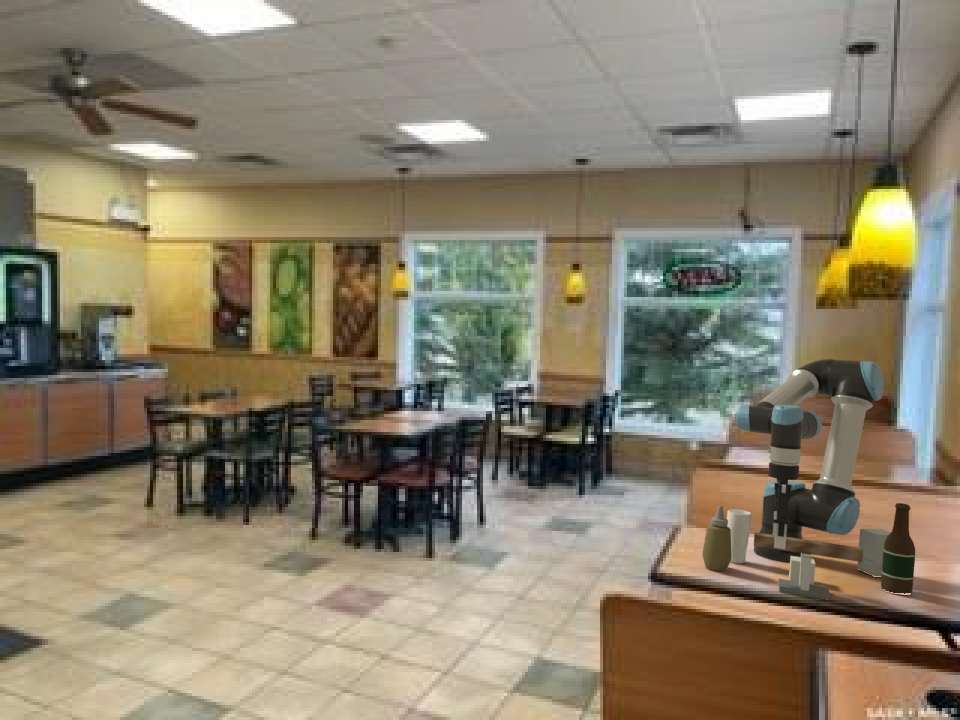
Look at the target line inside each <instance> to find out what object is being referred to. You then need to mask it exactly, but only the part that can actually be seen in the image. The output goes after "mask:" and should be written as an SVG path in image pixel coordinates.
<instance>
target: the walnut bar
mask: <svg viewBox="0 0 960 720" xmlns="http://www.w3.org/2000/svg"><path fill="white" fill-rule="evenodd" d="M753 535H754V537H753V547H754V546H758V547H765V548H771V549H778V550H785V551H791V552H798V553H805V554H811V556H819V557H826V558H830V559H831V558H833V559H838V560H845V561H851V562H857V563H858V562H862V557H863V550H862V548H860V547H859V546H852V545H846V544H839V543H832V542H825V541H818V540H811V539H798V538H791V537H786V547H785V549H780V548H774V540H775V535H770V534H763V533H759V532H754V534H753Z"/></svg>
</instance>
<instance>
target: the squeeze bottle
mask: <svg viewBox="0 0 960 720" xmlns="http://www.w3.org/2000/svg"><path fill="white" fill-rule="evenodd" d="M706 526H707V527H706V530H705V537H704V542H703V546H702V547H703V548H702V558H703V563H704V567H705V568H707V569H709V570H711V571H714V572H725V571H727V570H728V567H729V565H730V563H731V562H730V561H731V559H732V558H731V529H730V528H729V527H727V526H728V520H727V518H725V514H724V507H723V506H722V505H718V506H717V509H716V513H715V516H713V517H711V518H710V524H708V525H706Z"/></svg>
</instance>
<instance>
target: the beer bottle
mask: <svg viewBox="0 0 960 720" xmlns="http://www.w3.org/2000/svg"><path fill="white" fill-rule="evenodd" d="M894 507H895V514H894V520H893V526H892V529H891V531H890V532H891V533H890V534H889V535H888V536H887V538H886V540H885V542H884V548H883V561H882V574H881V578H880V587H881V589H885V590H886V591H889V592H893V593H904V594H905V593H912V594H913V590H914V589H913V588H914V576H915V565H916V564H915V563H916V547H915V543H914V541H913V539H912V537H911V536H910V510H911V506H910V505H909V504H908V503H904V502H903V503H902V502H898V503H895V505H894Z"/></svg>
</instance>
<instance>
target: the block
mask: <svg viewBox="0 0 960 720" xmlns="http://www.w3.org/2000/svg"><path fill="white" fill-rule="evenodd" d="M800 561H801V557H796V556H790V562H789V571H788V572H789V573H788V580H790V581H796V582H799V575H800ZM815 572H816V561H815V559H814V558H811V571H810V584H815Z"/></svg>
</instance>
